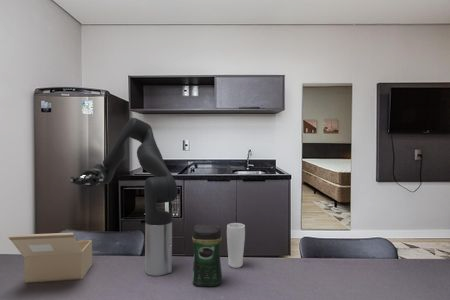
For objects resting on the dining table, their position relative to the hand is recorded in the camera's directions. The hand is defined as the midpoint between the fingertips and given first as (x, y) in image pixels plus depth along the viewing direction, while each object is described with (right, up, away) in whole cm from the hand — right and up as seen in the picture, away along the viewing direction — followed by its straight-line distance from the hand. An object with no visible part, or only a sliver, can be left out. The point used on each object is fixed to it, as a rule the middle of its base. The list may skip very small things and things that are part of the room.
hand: (80, 182), depth 108 cm
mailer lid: (0, -17, -20) cm, 26 cm away
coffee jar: (+49, -31, -15) cm, 60 cm away
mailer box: (-2, -30, -10) cm, 32 cm away
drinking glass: (+59, -31, -2) cm, 67 cm away
